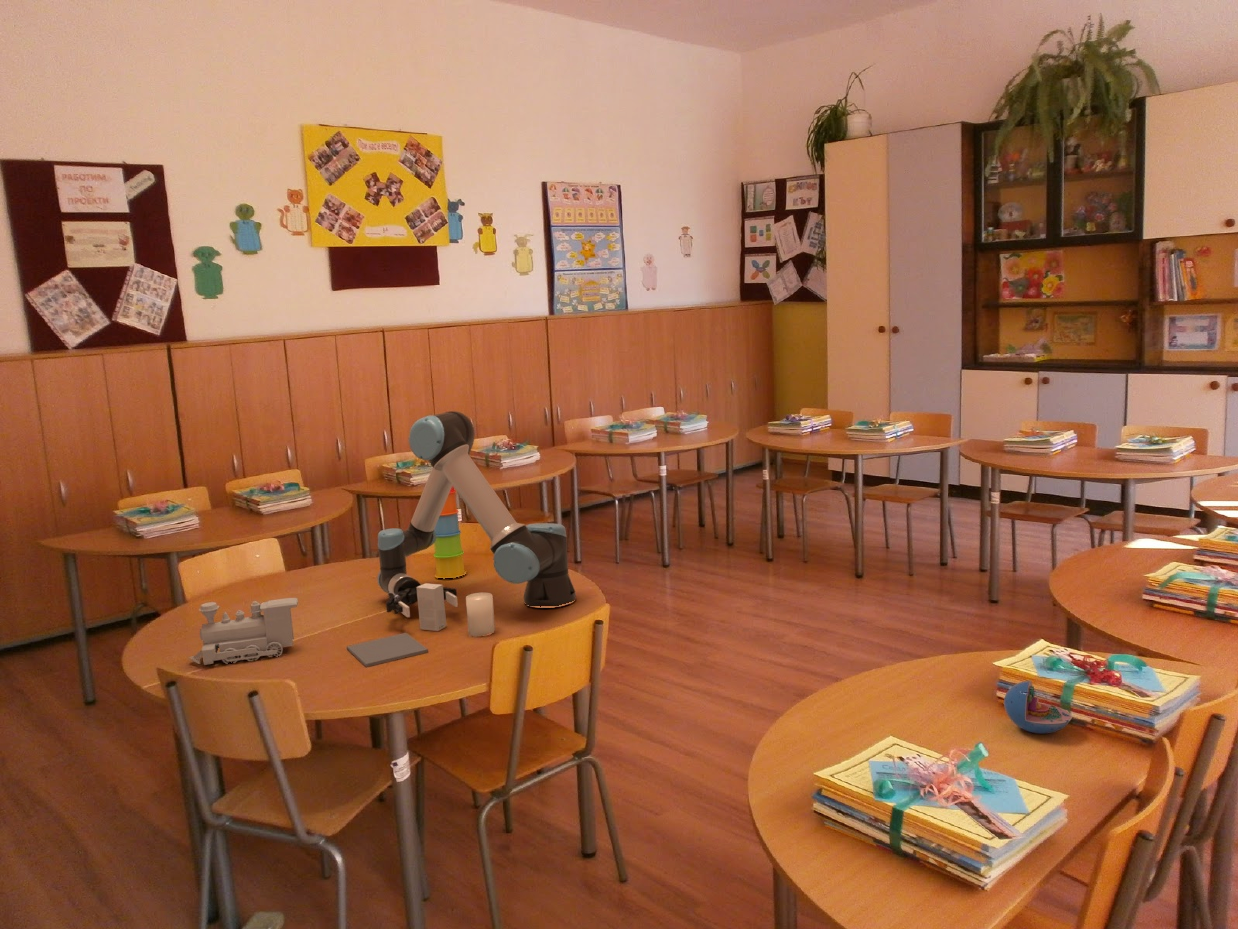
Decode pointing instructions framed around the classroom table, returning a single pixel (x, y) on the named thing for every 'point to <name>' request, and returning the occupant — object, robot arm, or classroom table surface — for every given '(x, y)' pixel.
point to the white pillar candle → (480, 614)
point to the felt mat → (386, 649)
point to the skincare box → (431, 607)
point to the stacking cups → (448, 541)
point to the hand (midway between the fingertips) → (432, 607)
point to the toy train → (246, 632)
